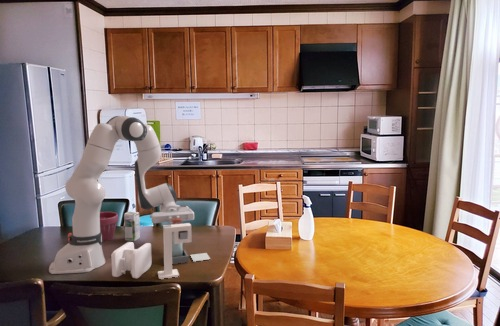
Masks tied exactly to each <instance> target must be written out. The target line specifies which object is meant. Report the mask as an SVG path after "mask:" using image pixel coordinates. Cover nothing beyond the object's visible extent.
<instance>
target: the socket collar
mask: <svg viewBox="0 0 500 326" xmlns="http://www.w3.org/2000/svg"><path fill="white" fill-rule="evenodd" d="M189 257H190V255H189V254H188V252H187V249H186V248H185V249H184V248H183V256H179V257H172V264H174V265H179V264H178V263H181V264H186V263H185V262H190V259H189Z"/></svg>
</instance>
